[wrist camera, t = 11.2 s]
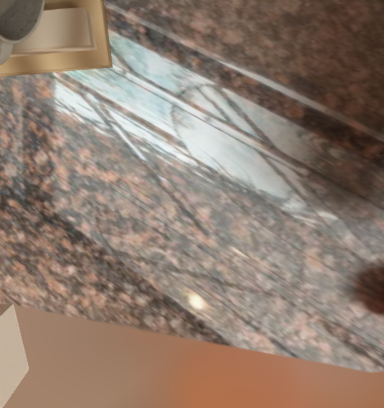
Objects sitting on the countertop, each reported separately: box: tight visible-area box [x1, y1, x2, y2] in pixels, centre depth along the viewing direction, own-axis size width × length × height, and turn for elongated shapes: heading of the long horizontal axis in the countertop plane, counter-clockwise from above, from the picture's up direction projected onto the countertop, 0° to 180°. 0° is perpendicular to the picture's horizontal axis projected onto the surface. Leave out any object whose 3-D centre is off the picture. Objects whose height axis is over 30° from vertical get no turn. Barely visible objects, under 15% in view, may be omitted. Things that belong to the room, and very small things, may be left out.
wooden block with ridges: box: [0, 0, 113, 77], centre depth 29 cm, size 16×12×4 cm
